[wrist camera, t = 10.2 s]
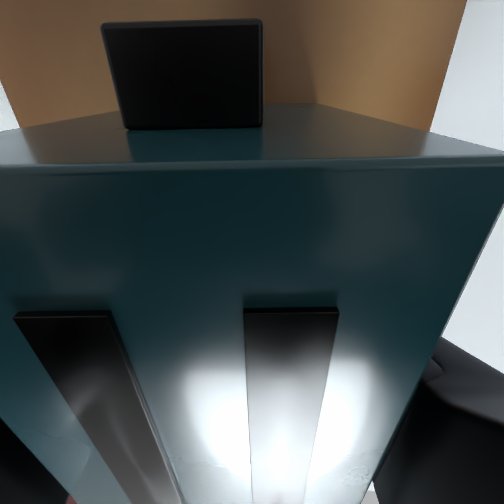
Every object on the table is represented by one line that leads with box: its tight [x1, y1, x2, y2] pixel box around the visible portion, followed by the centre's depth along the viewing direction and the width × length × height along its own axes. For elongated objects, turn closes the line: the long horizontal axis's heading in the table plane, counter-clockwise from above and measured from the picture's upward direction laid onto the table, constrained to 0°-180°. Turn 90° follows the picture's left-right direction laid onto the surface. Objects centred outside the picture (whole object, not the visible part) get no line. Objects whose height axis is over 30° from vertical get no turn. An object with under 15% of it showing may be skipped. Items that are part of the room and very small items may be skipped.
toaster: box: [0, 18, 504, 504], centre depth 8 cm, size 11×6×8 cm, turn 1°
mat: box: [0, 0, 467, 132], centre depth 11 cm, size 14×22×1 cm, turn 1°
